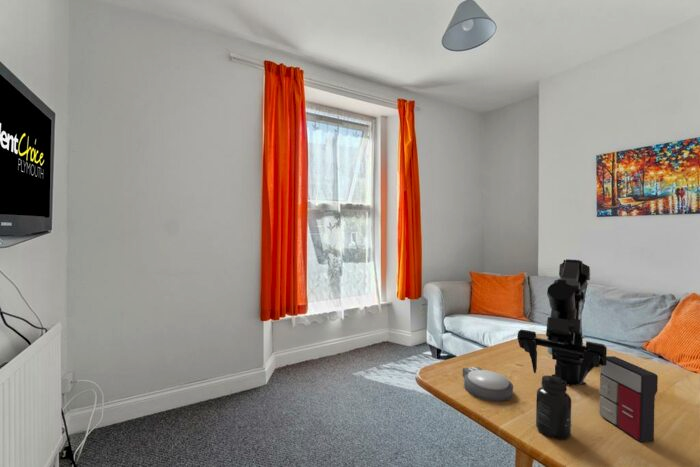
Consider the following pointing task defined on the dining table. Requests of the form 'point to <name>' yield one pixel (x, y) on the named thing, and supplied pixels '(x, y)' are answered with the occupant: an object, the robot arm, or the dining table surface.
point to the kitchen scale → (487, 385)
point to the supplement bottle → (553, 408)
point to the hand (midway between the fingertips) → (556, 377)
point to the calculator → (628, 397)
